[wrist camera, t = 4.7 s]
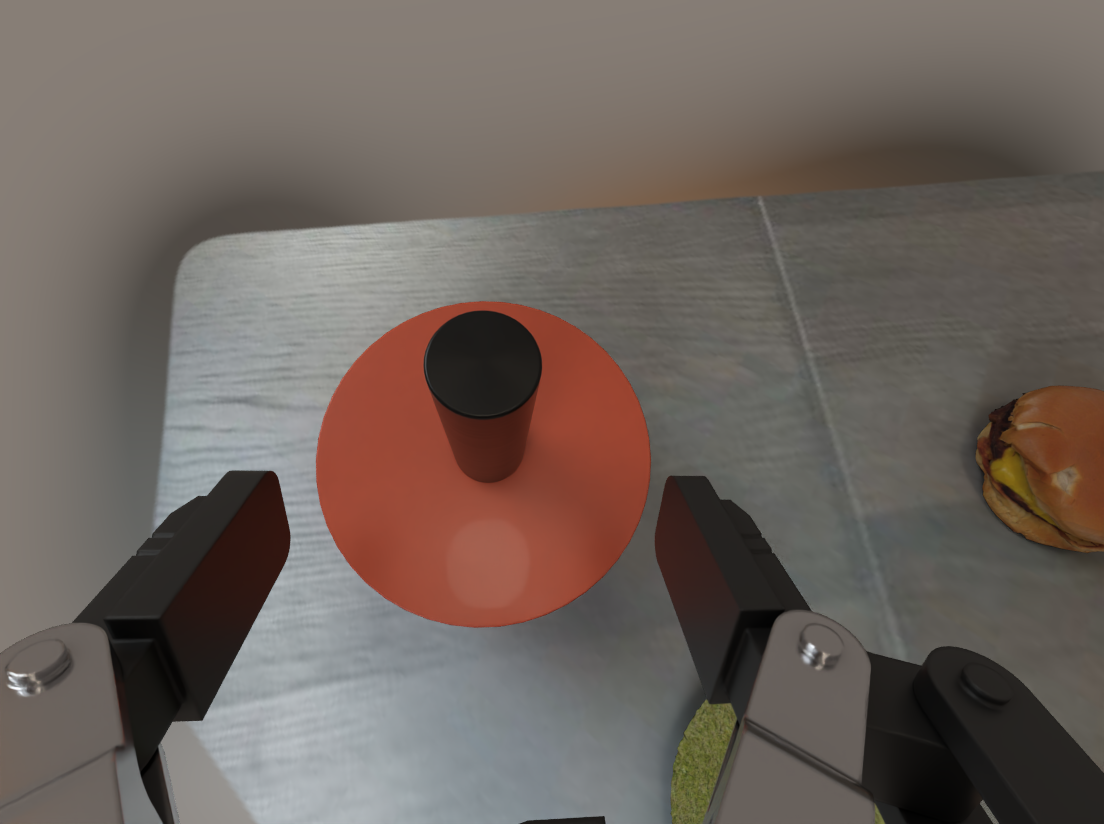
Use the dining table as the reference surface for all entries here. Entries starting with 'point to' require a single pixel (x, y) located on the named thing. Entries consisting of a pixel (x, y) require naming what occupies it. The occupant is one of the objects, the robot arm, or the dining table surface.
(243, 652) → the dining table surface
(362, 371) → the cooker lid
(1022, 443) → the burger
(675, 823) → the mat
